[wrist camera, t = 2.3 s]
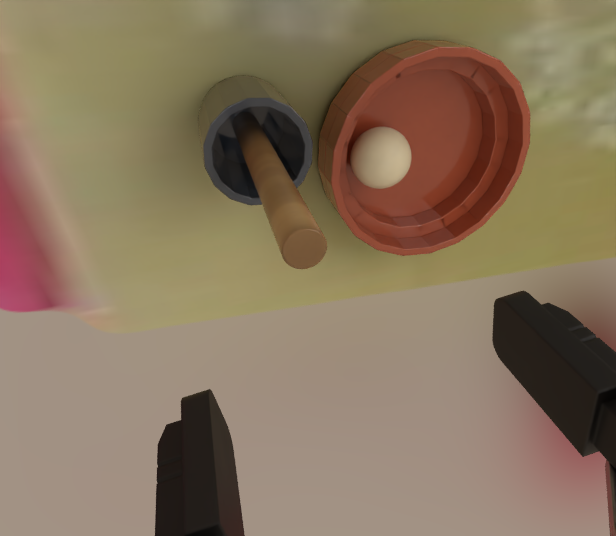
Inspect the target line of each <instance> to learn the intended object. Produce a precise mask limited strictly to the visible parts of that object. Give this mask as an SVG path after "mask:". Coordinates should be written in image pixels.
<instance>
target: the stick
mask: <svg viewBox="0 0 616 536" xmlns="http://www.w3.org/2000/svg"><path fill="white" fill-rule="evenodd" d="M233 130H234V132H235V135H236V138H237V140H238V143H239V145H240V148H241V151H242V153H243V156H244V158H245V161H246V163H247V166H248V169H249V171H250V174H251V176H252V179H253V182H254V184H255V187H256V189H257V192H258V195H259V197H260V200H261V202H262V205H263V207H264V210H265V213H266V215H267V218H268V220H269V223H270V226H271V228H272V231H273V233H274V236H275V238H276V241H277V244H278V246H279V249H280V251H281V254H282V257H283V259H284V261H285V262H286V263H287V264H288V265H290V266H291V267H294V268H297V269H307V268H310V267H313V266H315V265H316V264H318V263H319V262H320V261H321V260H322V259H323V257H324V255H325V253H326V250H327V242H326V239H325V237H324V235H323V233H322V232H321V230H320V228H319V226H318V225H317V223H316V221H315V219H314V218H313V216H312V214H311V212H310V211H309V209H308V207H307V206H306V204H305V202H304V200H303V199H302V197H301V195H300V193H299V192H298V190H297V188H296V186H295V185H294V183H293V181H292V179H291V178H290V176H289V174H288V172H287V171H286V169H285V167H284V165H283V164H282V162H281V160H280V159H279V157H278V155H277V153H276V152H275V150H274V148H273V146H272V145H271V143H270V141H269V139H268V138H267V136H266V134H265V132H264V131H263V129H262V127H261V125H260V124H259V122H258V120H257V119H256V117H255V116H254V115H253V114H251V113H248V112H243V113H240V114H238V115H237V116H236V117H235V118H234V120H233Z"/></svg>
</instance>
